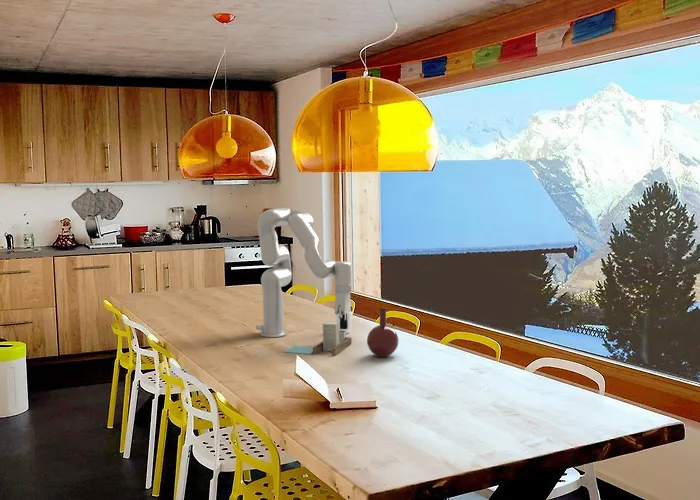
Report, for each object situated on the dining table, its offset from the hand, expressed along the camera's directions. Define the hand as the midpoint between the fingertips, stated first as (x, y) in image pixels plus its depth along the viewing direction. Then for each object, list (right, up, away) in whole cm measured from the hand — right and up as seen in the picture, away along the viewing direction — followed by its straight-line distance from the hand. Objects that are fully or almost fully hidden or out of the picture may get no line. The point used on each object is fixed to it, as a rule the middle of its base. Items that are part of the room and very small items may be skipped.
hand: (343, 328), depth 341 cm
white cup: (0, -4, +22) cm, 23 cm away
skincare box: (-5, -8, -15) cm, 18 cm away
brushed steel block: (-3, -7, -7) cm, 10 cm away
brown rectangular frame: (-5, -8, -13) cm, 16 cm away
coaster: (-18, -8, -15) cm, 25 cm away
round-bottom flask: (+17, -9, -25) cm, 31 cm away
